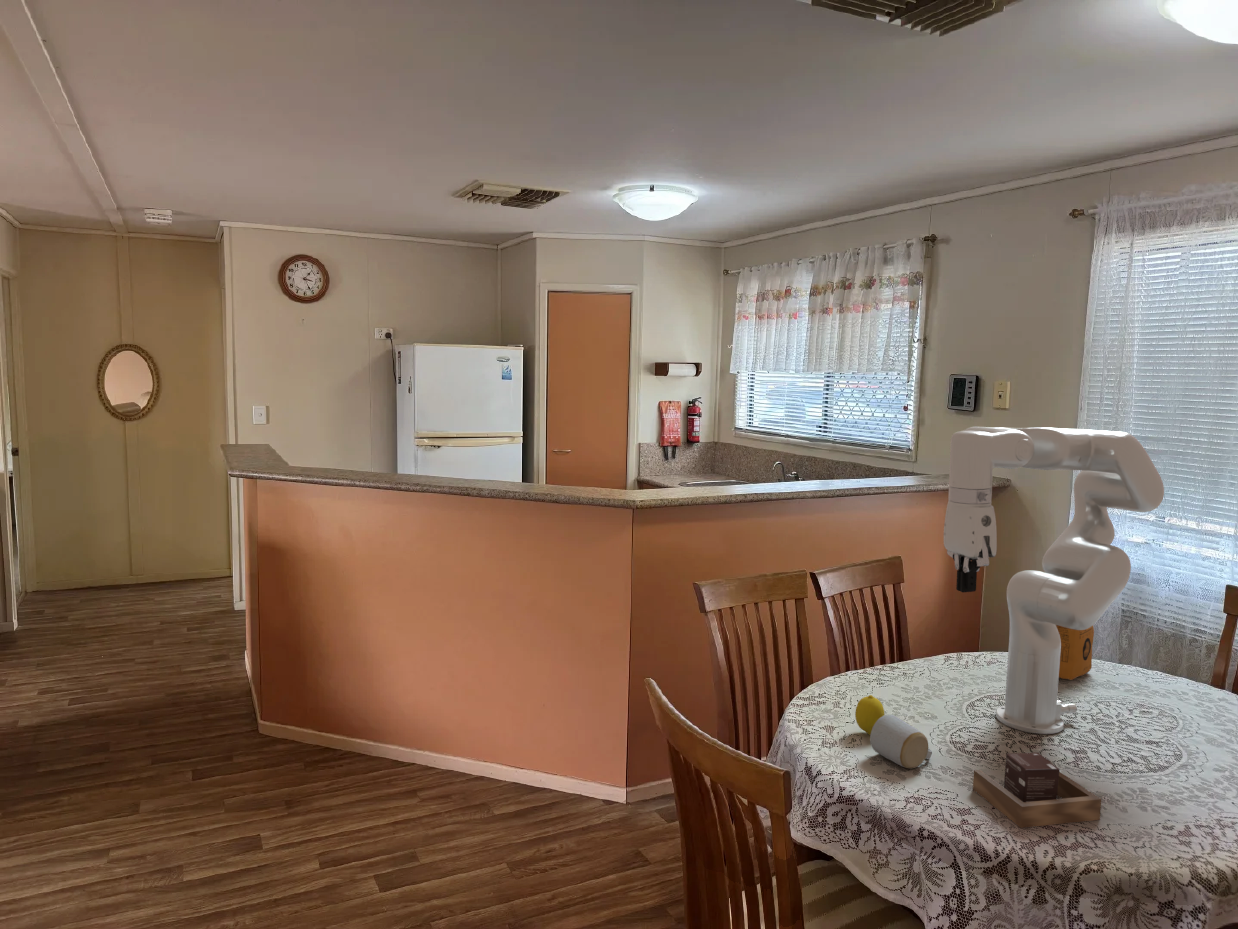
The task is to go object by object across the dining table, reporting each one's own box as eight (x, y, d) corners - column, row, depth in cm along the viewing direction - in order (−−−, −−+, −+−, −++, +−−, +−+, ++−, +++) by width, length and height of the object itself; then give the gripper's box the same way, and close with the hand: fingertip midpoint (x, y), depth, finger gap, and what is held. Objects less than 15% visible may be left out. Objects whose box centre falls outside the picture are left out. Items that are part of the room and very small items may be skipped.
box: (1002, 793, 142) (1005, 752, 141) (1035, 792, 143) (1038, 751, 142) (1022, 812, 136) (1025, 769, 135) (1057, 811, 137) (1060, 768, 136)
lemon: (885, 741, 162) (887, 702, 161) (855, 738, 163) (857, 699, 162) (882, 730, 167) (883, 691, 166) (853, 727, 168) (855, 689, 168)
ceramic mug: (901, 775, 148) (904, 733, 148) (867, 756, 155) (870, 716, 155) (943, 764, 153) (945, 723, 153) (908, 746, 160) (911, 707, 160)
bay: (1046, 783, 146) (1047, 764, 146) (1099, 819, 134) (1101, 799, 134) (972, 789, 143) (973, 770, 143) (1020, 828, 131) (1022, 806, 131)
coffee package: (1098, 675, 200) (1105, 586, 198) (1071, 685, 194) (1078, 593, 191) (1057, 663, 209) (1063, 577, 206) (1030, 672, 202) (1036, 583, 199)
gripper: (1014, 501, 151) (1010, 599, 153) (961, 489, 166) (957, 580, 168) (979, 503, 149) (975, 603, 151) (928, 491, 164) (925, 582, 166)
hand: (966, 590), depth 160 cm, fingers closed
